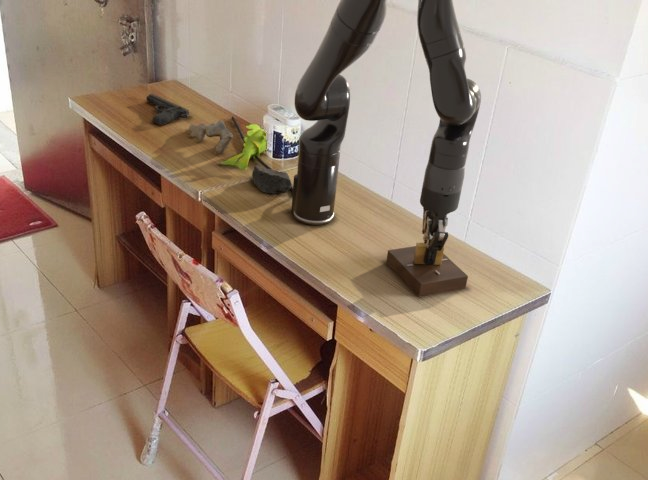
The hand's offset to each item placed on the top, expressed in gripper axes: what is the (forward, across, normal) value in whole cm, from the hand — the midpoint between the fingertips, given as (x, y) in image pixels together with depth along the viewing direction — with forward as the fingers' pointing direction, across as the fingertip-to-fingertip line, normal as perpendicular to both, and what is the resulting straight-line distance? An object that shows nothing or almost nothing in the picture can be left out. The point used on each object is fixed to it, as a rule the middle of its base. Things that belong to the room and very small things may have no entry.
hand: (427, 260), depth 160 cm
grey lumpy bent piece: (+4, -67, -49) cm, 83 cm away
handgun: (+4, -89, -65) cm, 110 cm away
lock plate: (+4, 0, 0) cm, 4 cm away
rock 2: (+4, -40, -32) cm, 51 cm away
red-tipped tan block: (0, 0, 0) cm, 0 cm away
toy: (+4, -57, -36) cm, 68 cm away
